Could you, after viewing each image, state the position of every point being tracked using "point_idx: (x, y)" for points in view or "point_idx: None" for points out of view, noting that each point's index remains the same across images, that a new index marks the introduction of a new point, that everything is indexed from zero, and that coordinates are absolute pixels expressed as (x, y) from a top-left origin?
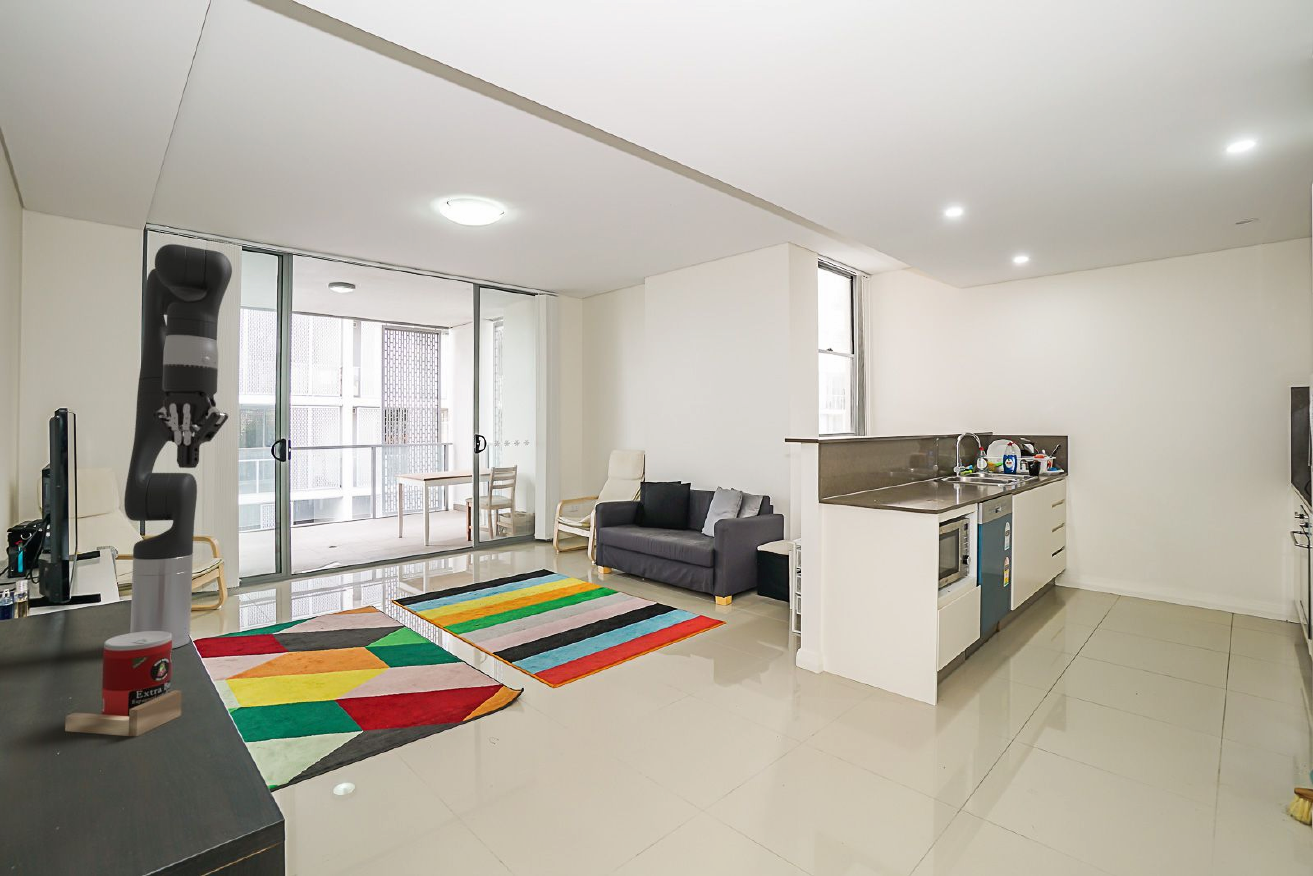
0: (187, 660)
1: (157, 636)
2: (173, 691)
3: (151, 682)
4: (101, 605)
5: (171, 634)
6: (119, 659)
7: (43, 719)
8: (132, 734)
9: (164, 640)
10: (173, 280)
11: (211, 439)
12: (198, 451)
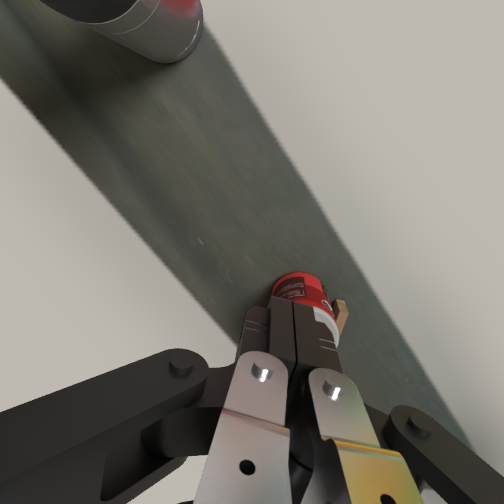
0: (251, 107)
1: (316, 320)
2: (340, 314)
3: None
4: None
5: (334, 323)
6: None
7: (219, 296)
8: None
9: (337, 344)
10: None
11: (440, 426)
12: (339, 370)
